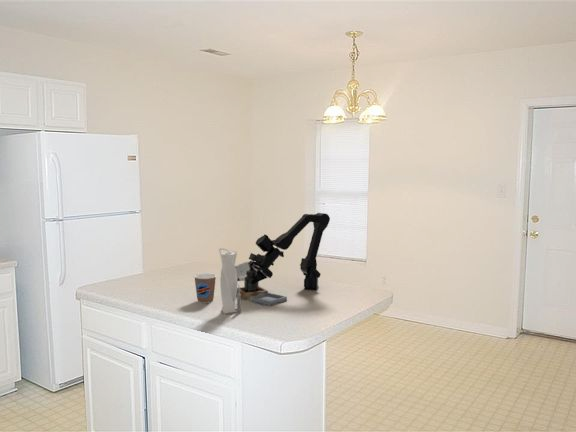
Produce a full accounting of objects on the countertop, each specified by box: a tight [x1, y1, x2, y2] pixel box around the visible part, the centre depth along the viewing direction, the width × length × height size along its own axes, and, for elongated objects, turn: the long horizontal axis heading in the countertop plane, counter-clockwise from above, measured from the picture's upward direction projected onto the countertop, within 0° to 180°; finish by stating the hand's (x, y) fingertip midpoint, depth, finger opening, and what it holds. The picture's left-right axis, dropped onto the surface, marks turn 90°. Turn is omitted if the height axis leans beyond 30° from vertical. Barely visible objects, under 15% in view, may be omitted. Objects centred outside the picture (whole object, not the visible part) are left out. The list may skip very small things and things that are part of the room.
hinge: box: [235, 261, 250, 282], centre depth 287 cm, size 17×5×10 cm, turn 131°
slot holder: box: [237, 285, 269, 301], centre depth 247 cm, size 12×12×3 cm
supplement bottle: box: [243, 270, 260, 293], centre depth 247 cm, size 7×7×12 cm
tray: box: [249, 292, 288, 307], centre depth 237 cm, size 12×12×2 cm
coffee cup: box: [193, 273, 217, 304], centre depth 236 cm, size 10×10×12 cm
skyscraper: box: [218, 247, 243, 316], centre depth 218 cm, size 8×8×28 cm
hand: (248, 282), depth 246 cm, fingers closed on supplement bottle, 7 cm apart
